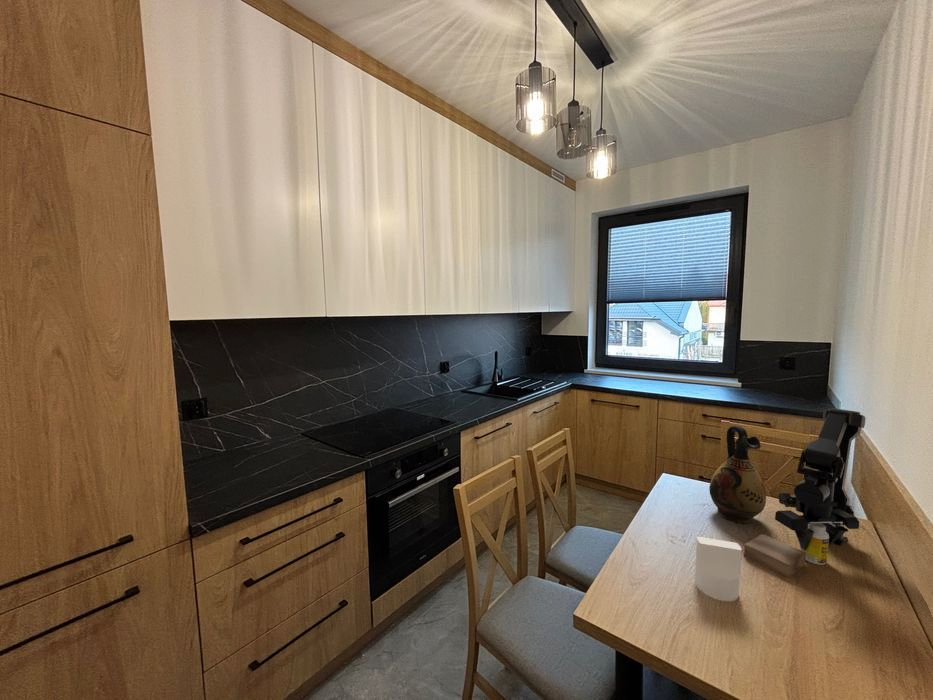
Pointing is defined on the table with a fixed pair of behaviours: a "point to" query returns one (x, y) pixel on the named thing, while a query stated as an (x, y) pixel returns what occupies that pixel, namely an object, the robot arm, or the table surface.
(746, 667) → the table surface
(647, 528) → the table surface
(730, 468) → the ceramic jug
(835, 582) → the table surface
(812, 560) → the supplement bottle
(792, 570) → the walnut block
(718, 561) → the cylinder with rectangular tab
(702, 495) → the table surface
